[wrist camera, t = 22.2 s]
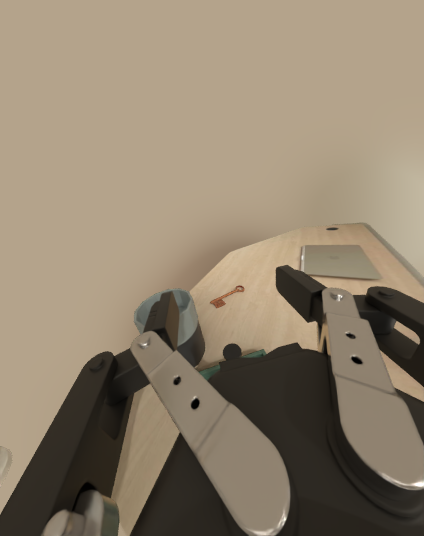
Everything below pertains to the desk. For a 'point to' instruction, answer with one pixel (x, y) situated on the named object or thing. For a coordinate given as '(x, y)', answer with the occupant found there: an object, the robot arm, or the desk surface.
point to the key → (223, 297)
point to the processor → (189, 327)
